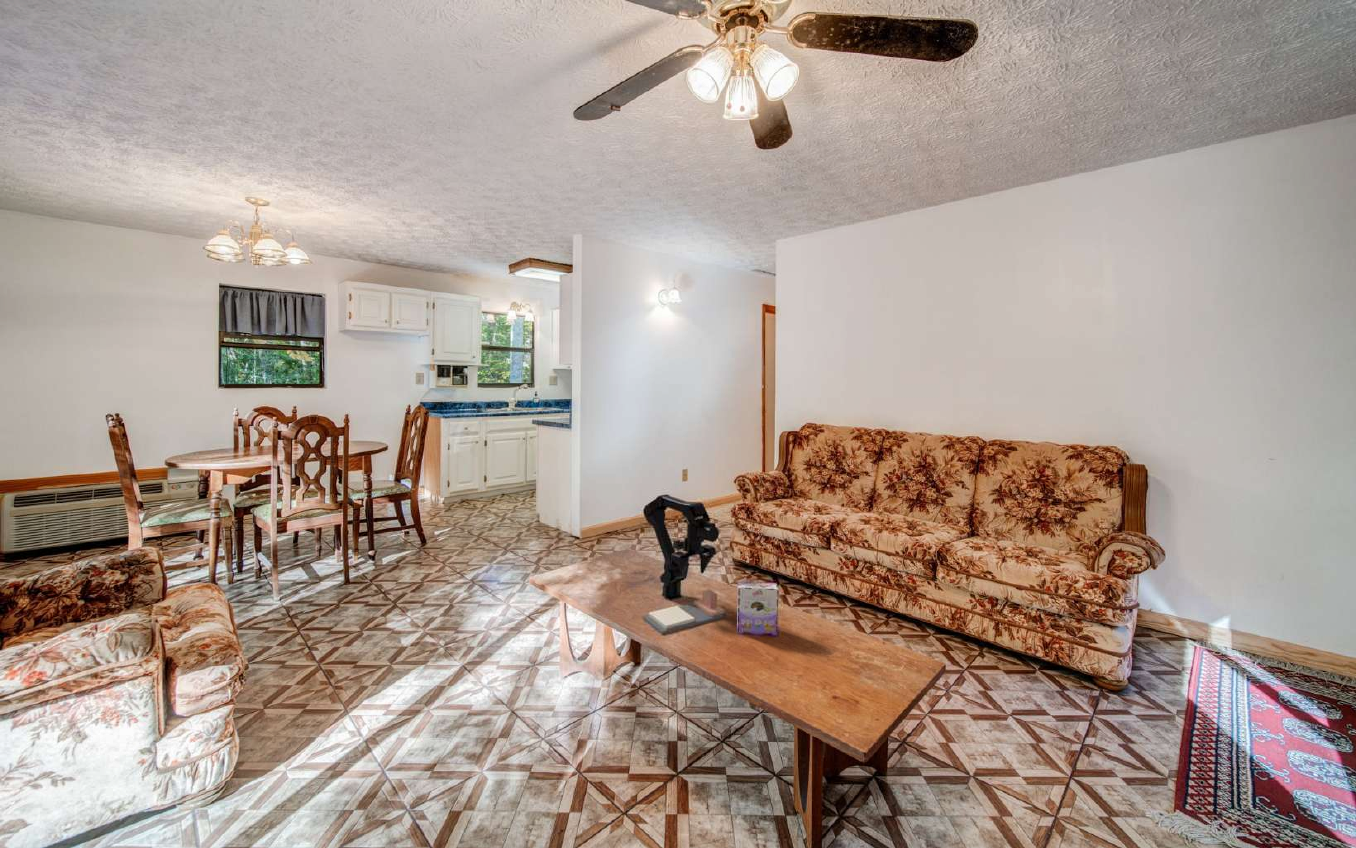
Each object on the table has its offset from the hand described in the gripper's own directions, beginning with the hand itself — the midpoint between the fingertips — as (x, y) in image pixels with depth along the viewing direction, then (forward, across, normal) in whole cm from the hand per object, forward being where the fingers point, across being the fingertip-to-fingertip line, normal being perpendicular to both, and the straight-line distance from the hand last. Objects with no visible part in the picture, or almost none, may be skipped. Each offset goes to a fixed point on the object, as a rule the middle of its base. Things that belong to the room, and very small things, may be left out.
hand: (693, 575), depth 200 cm
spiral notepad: (+11, +15, +5) cm, 19 cm away
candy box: (+12, -3, +29) cm, 32 cm away
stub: (+11, -1, +7) cm, 13 cm away
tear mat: (+12, +10, +5) cm, 17 cm away
